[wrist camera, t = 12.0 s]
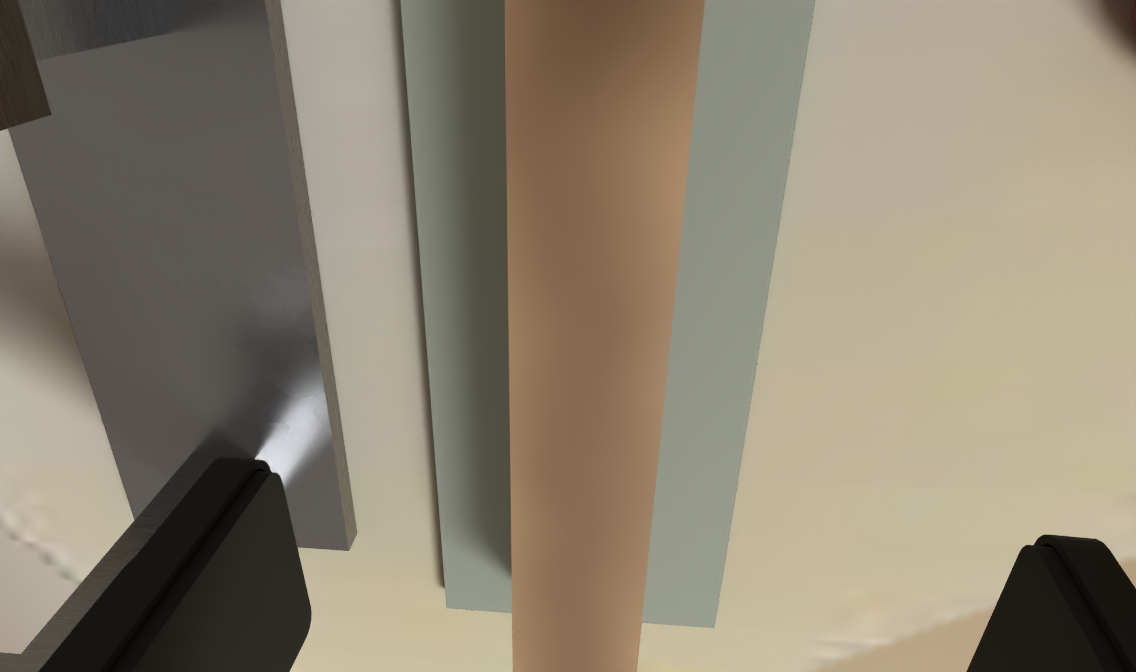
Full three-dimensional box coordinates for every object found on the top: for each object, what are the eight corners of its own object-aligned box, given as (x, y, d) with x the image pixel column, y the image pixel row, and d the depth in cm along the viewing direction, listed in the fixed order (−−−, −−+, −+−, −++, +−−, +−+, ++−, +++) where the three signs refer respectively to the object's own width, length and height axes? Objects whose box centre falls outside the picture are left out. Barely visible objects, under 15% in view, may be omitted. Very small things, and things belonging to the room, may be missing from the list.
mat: (854, -286, 14) (862, -294, 14) (712, 613, 26) (714, 628, 25) (386, -290, 15) (377, -298, 14) (450, 594, 26) (446, 608, 26)
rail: (710, -230, 14) (732, -276, 11) (633, 600, 25) (634, 694, 22) (528, -233, 15) (500, -279, 11) (527, 591, 25) (512, 684, 22)
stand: (260, -142, 16) (-354, -270, 6) (357, 533, 25) (173, 933, 15) (-52, -148, 17) (-1113, -279, 6) (153, 519, 25) (-159, 899, 15)
